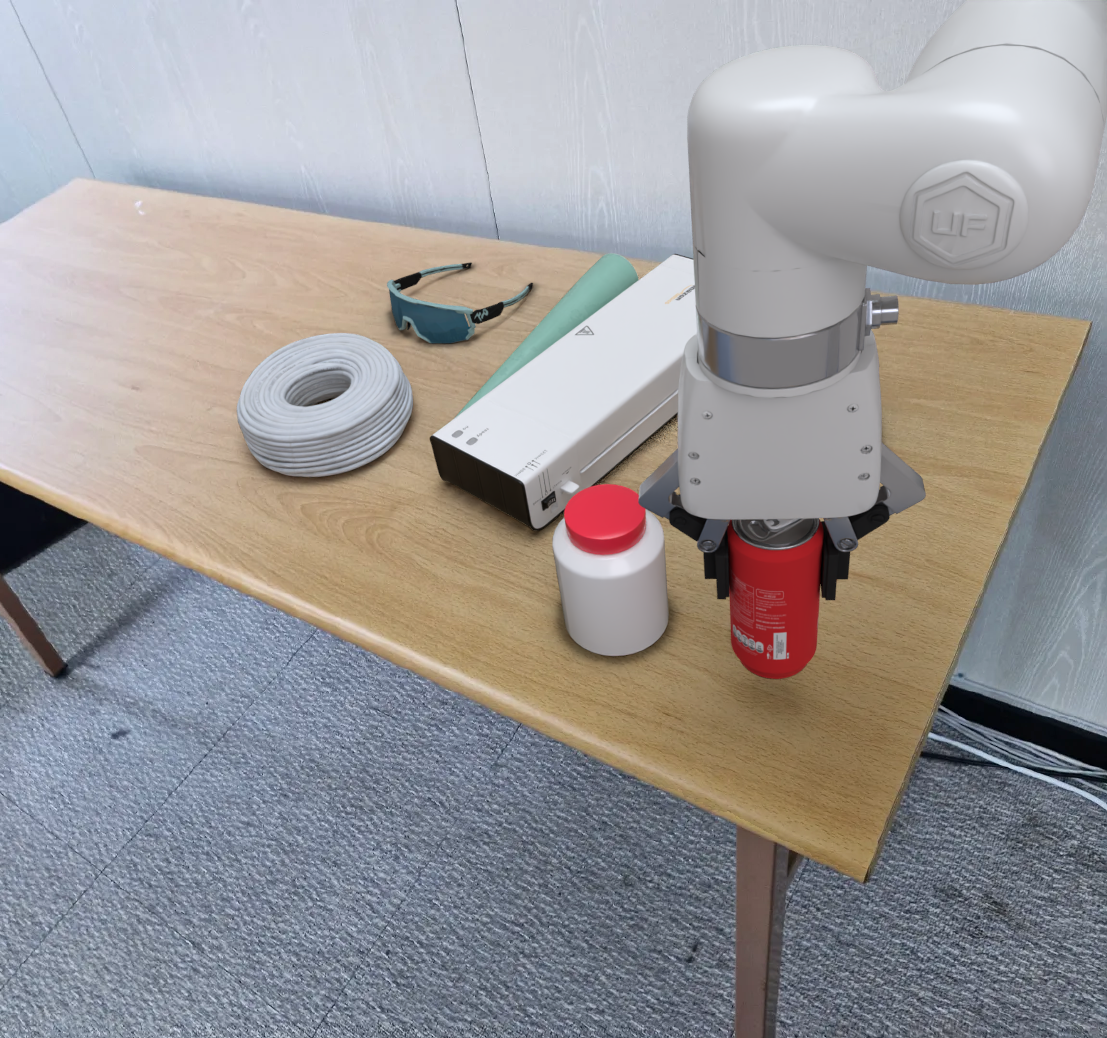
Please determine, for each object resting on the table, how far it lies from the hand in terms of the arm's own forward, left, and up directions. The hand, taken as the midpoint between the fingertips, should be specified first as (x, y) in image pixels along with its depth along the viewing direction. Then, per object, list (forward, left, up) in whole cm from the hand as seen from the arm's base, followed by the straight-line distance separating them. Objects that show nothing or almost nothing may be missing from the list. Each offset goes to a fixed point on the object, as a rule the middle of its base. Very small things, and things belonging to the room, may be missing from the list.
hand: (774, 580), depth 59 cm
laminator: (+12, -31, -11) cm, 35 cm away
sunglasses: (+32, -51, -11) cm, 61 cm away
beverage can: (0, 0, -7) cm, 7 cm away
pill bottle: (+11, -6, -11) cm, 17 cm away
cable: (+41, -30, -11) cm, 52 cm away
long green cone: (+21, -39, -11) cm, 46 cm away
